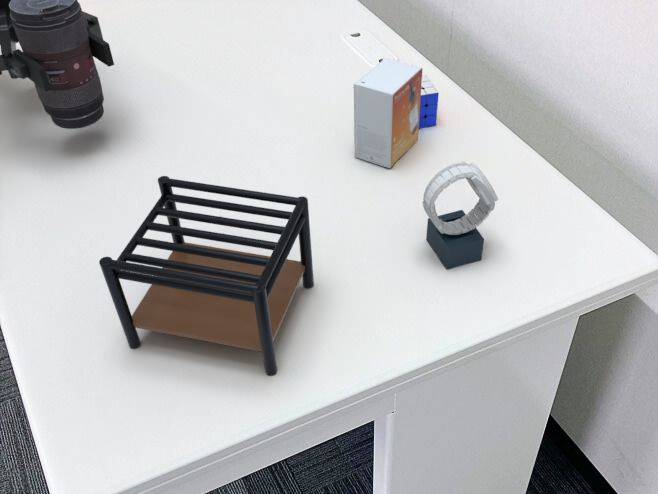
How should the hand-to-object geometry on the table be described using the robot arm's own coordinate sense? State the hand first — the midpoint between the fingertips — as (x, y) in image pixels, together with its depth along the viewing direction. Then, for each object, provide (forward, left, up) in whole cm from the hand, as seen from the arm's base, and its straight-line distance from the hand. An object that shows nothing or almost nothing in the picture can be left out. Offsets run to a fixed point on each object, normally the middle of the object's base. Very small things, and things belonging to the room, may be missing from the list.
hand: (77, 67), depth 89 cm
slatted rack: (+26, -23, -13) cm, 37 cm away
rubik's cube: (+38, +19, -13) cm, 44 cm away
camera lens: (-4, +3, -9) cm, 10 cm away
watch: (+48, -7, -13) cm, 50 cm away
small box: (+36, +11, -13) cm, 40 cm away
